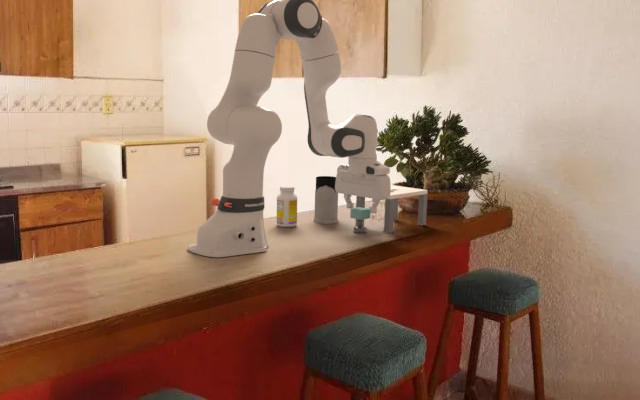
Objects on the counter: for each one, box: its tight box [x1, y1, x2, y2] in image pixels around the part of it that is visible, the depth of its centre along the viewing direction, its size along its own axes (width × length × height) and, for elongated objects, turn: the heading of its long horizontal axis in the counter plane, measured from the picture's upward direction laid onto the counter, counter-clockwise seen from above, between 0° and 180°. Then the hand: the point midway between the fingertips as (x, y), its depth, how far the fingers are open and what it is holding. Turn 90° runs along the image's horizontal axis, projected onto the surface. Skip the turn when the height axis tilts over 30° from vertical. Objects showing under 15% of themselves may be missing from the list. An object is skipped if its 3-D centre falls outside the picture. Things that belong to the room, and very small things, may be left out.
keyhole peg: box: [349, 207, 371, 234], centre depth 208 cm, size 4×4×8 cm
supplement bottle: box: [276, 185, 298, 228], centre depth 215 cm, size 7×7×13 cm
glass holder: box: [312, 175, 339, 225], centre depth 227 cm, size 9×14×15 cm, turn 173°
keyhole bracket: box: [354, 184, 428, 234], centre depth 220 cm, size 20×14×12 cm
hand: (361, 210), depth 208 cm, fingers open, 8 cm apart
